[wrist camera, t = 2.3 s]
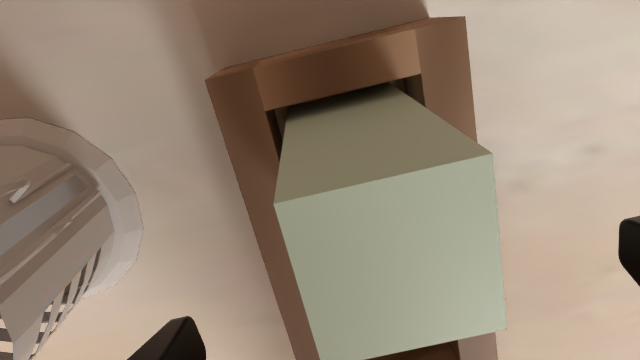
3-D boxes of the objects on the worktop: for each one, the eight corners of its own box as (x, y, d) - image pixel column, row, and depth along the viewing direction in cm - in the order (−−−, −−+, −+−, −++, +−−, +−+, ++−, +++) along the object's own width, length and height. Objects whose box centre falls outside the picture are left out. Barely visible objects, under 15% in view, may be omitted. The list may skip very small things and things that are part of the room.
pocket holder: (429, 17, 17) (465, 16, 14) (468, 330, 24) (500, 388, 20) (224, 68, 18) (204, 80, 14) (315, 362, 24) (317, 425, 20)
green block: (389, 83, 17) (492, 153, 8) (405, 178, 19) (507, 329, 10) (288, 107, 18) (273, 204, 8) (312, 199, 19) (322, 368, 10)
